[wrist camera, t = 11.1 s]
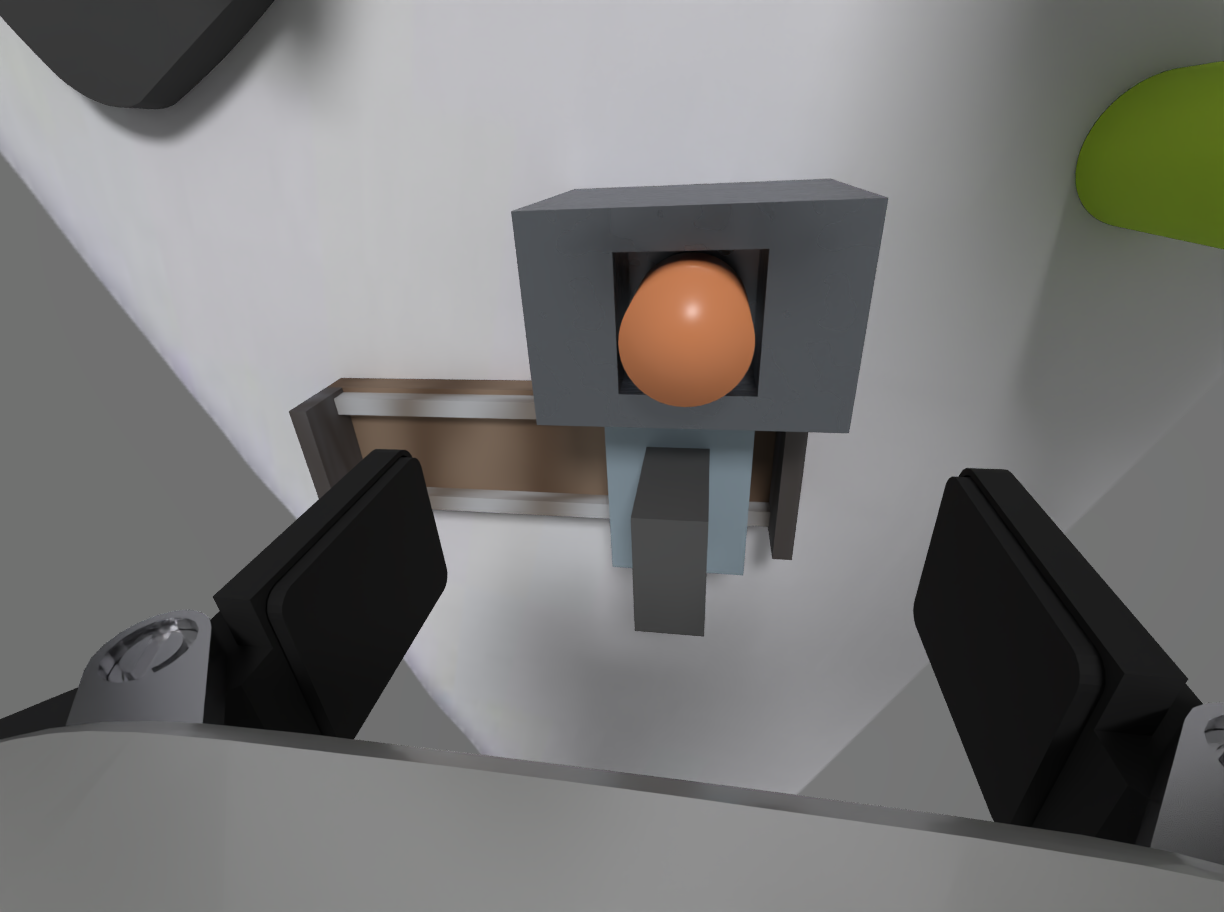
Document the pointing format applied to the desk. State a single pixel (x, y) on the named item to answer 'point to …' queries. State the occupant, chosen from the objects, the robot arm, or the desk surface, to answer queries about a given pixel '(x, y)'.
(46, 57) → the media streaming box
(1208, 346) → the desk surface
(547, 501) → the rail
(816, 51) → the desk surface
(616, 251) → the cabinet
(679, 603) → the carriage
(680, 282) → the button
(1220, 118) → the soap dispenser
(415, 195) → the desk surface
